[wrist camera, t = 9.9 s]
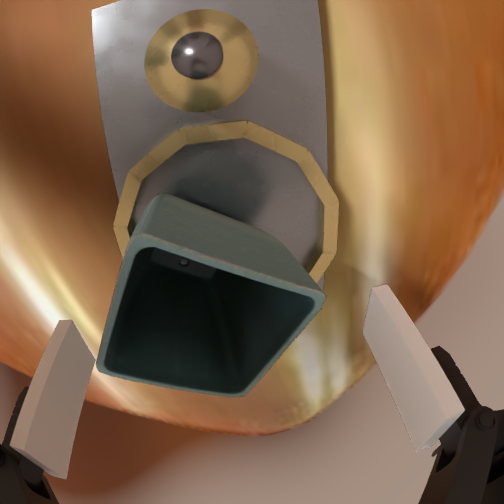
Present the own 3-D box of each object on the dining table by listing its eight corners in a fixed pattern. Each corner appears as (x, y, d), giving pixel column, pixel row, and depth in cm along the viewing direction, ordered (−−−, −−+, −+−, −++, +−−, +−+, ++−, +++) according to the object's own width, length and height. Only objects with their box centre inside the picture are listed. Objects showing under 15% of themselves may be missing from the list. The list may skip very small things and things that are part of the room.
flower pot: (280, 209, 20) (333, 297, 13) (224, 302, 24) (243, 400, 17) (157, 158, 17) (132, 230, 10) (117, 270, 21) (94, 372, 13)
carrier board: (154, 317, 26) (139, 388, 19) (92, 16, 13) (30, -9, 6) (323, 299, 26) (351, 367, 19) (317, -14, 13) (364, -57, 7)
